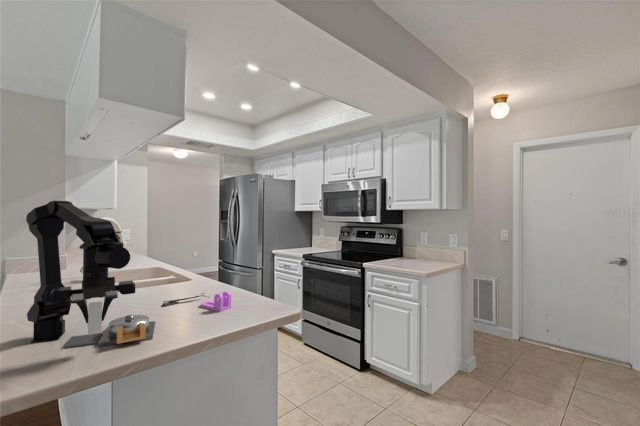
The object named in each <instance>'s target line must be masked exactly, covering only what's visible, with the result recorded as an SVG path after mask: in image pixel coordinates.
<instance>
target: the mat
mask: <svg viewBox="0 0 640 426" xmlns="http://www.w3.org/2000/svg"><path fill="white" fill-rule="evenodd" d="M103 333H104V332H102V333H97V334H92V335H88V334H82V335H74V336H71V337H70V338H69V339H68V341H66V343H65V344H64V345H63V347H62V349H63V350H64V349H72V348H79V347H86V346H93V345H94V346H95V345H98V342H99V340H100V338H101V337H102V335H103Z"/></svg>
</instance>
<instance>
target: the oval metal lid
mask: <svg viewBox="0 0 640 426" xmlns="http://www.w3.org/2000/svg"><path fill="white" fill-rule="evenodd" d="M149 322H150V317H149V316H147V315H143V314H127V315H125V316H121V317H118V318H114V319H112V320H110V321H109V322H108V327H109V330H108V334H109V335H110V336H113V337H116V340H117V344H116V345H119V343H120V344H125V343H124V342H128V343H131V342H130V341H135V340H140V339H145V338H146V330H148V328H149ZM135 342H136V341H135Z"/></svg>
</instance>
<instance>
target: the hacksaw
mask: <svg viewBox="0 0 640 426" xmlns="http://www.w3.org/2000/svg"><path fill="white" fill-rule="evenodd" d="M200 297H206V298H209V299H210V296H207V295H204V292H202V293H201V295H195V296H191V297H184V298H178V299H172V300H169V299H168V300H164V301H163V302H164V303H162V304H161V307H163V308H165V307H169V306H174V305H175V306H176V305H179V304H185V303H190V302H195V301H197V302H198V301H201V300H202V299H196V298H200ZM189 299H192V300H189ZM193 299H194V300H193Z"/></svg>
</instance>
